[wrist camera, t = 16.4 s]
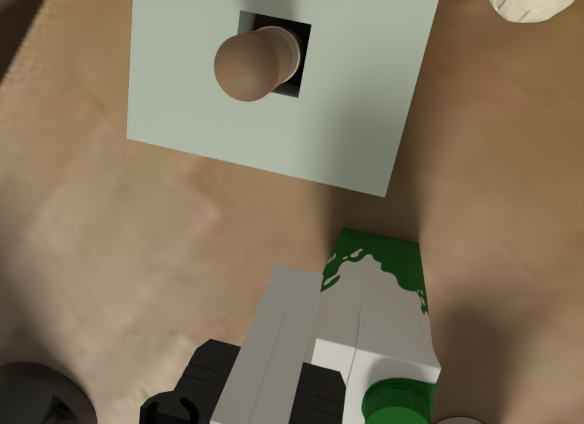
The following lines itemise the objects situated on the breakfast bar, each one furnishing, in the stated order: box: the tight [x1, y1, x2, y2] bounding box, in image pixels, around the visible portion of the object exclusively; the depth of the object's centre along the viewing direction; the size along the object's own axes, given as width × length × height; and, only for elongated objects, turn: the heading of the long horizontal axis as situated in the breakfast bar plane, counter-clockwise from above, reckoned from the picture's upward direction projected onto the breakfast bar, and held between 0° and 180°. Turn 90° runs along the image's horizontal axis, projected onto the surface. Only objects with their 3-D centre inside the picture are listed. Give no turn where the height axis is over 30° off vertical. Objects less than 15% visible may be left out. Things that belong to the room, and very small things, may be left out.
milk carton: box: [303, 228, 441, 424], centre depth 40 cm, size 9×9×20 cm
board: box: [127, 0, 438, 197], centre depth 41 cm, size 22×18×5 cm
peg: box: [214, 26, 304, 102], centre depth 37 cm, size 4×4×13 cm
